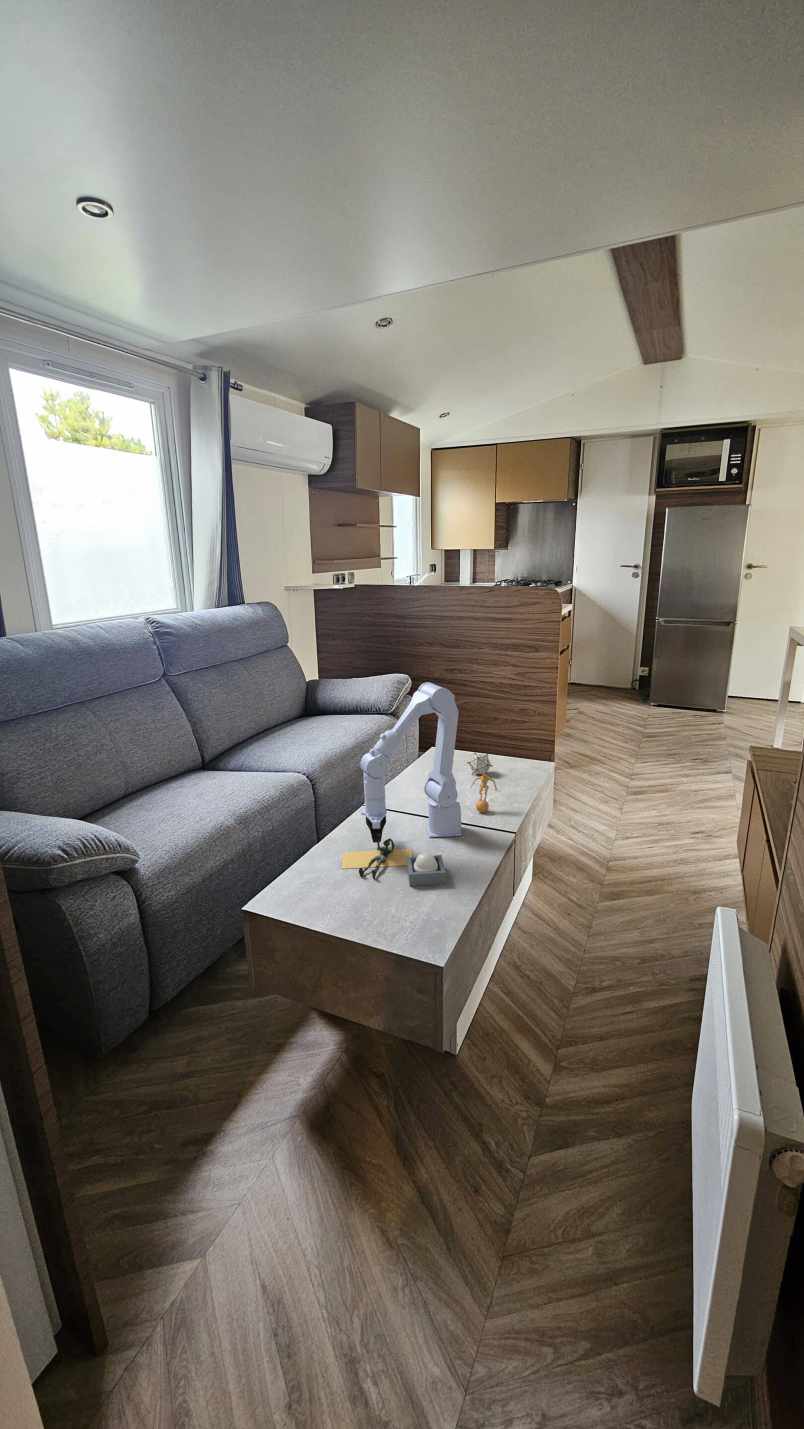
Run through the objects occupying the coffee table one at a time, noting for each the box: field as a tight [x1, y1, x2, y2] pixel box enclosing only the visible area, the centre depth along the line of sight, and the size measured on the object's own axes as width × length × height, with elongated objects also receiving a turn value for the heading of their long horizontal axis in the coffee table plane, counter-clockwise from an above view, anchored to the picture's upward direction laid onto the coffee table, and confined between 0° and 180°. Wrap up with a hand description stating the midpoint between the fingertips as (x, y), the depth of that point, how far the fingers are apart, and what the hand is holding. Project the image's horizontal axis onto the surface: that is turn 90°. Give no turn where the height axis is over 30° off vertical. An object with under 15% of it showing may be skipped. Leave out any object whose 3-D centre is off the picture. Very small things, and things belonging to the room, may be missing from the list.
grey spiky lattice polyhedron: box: [466, 752, 494, 776], centre depth 224 cm, size 9×8×10 cm
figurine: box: [470, 773, 498, 813], centre depth 193 cm, size 8×6×12 cm
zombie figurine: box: [358, 833, 395, 880], centre depth 162 cm, size 5×7×15 cm
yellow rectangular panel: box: [341, 848, 414, 870], centre depth 166 cm, size 19×9×1 cm, turn 94°
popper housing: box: [406, 854, 447, 887], centre depth 156 cm, size 9×9×3 cm
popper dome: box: [414, 851, 438, 872], centre depth 155 cm, size 6×6×5 cm
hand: (376, 841), depth 172 cm, fingers closed
